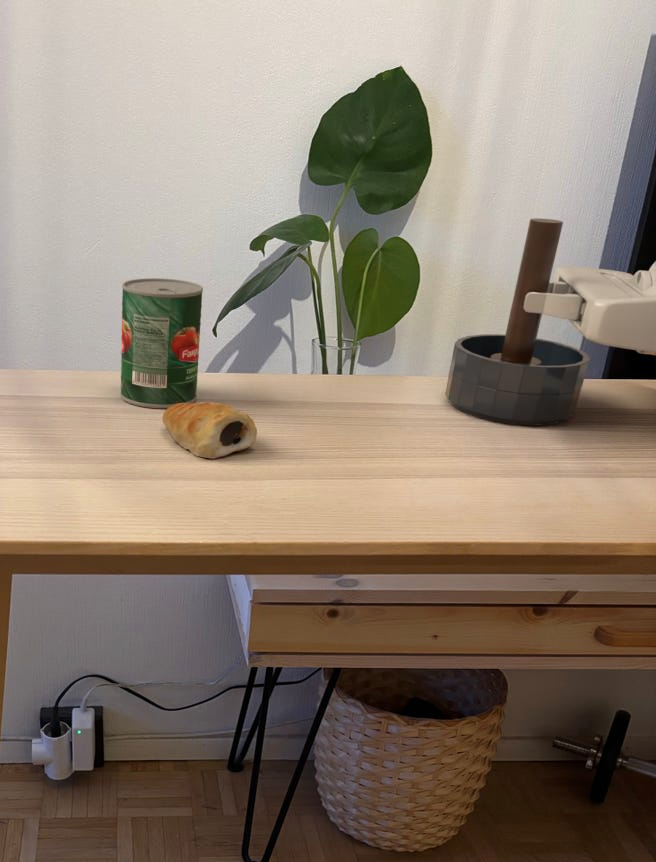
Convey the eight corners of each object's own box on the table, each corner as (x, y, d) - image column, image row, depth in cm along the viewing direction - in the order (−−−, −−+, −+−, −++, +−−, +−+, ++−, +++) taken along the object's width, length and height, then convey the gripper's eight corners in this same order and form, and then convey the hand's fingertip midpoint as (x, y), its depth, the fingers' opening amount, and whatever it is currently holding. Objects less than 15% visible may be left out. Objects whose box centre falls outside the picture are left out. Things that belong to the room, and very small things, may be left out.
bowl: (601, 417, 99) (617, 359, 96) (512, 434, 93) (526, 372, 90) (504, 384, 109) (516, 330, 106) (418, 396, 103) (428, 340, 100)
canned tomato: (115, 386, 101) (117, 277, 95) (188, 386, 102) (194, 278, 97) (125, 409, 94) (127, 293, 89) (203, 408, 96) (210, 294, 90)
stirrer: (545, 392, 98) (585, 223, 90) (511, 397, 96) (549, 225, 87) (507, 379, 102) (543, 216, 93) (474, 384, 99) (508, 217, 91)
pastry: (143, 431, 89) (145, 391, 87) (200, 421, 92) (203, 382, 90) (205, 462, 82) (208, 419, 81) (264, 450, 86) (268, 408, 84)
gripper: (648, 256, 100) (512, 247, 101) (711, 293, 82) (546, 281, 84) (630, 318, 103) (499, 308, 104) (688, 366, 85) (529, 353, 87)
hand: (520, 296), depth 94 cm, fingers closed on stirrer, 3 cm apart
